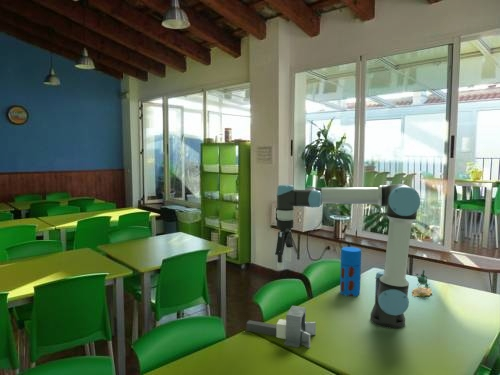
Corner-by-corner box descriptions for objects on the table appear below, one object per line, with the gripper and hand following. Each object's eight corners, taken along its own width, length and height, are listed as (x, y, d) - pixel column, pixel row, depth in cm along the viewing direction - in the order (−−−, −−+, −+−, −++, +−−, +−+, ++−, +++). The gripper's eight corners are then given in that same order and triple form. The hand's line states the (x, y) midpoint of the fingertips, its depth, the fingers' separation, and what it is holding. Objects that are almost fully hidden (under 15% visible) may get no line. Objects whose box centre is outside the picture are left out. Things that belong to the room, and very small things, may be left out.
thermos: (360, 297, 201) (362, 252, 199) (340, 295, 203) (341, 251, 201) (358, 290, 212) (360, 247, 210) (339, 288, 214) (340, 246, 212)
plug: (288, 333, 160) (288, 320, 160) (285, 339, 155) (285, 325, 155) (249, 326, 166) (249, 313, 166) (245, 331, 162) (245, 318, 161)
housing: (316, 332, 161) (316, 306, 160) (309, 349, 147) (309, 321, 146) (293, 328, 164) (293, 303, 163) (284, 345, 151) (284, 317, 149)
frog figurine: (440, 293, 209) (440, 268, 207) (421, 302, 200) (421, 276, 198) (424, 287, 217) (424, 263, 215) (405, 296, 208) (405, 271, 206)
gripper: (284, 214, 180) (283, 257, 182) (268, 223, 157) (268, 272, 159) (299, 215, 178) (298, 258, 180) (285, 224, 155) (285, 274, 156)
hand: (284, 265), depth 169 cm, fingers open, 13 cm apart
